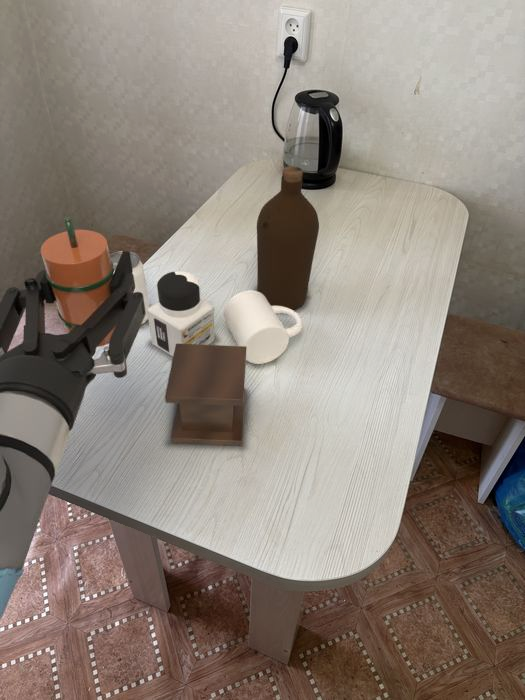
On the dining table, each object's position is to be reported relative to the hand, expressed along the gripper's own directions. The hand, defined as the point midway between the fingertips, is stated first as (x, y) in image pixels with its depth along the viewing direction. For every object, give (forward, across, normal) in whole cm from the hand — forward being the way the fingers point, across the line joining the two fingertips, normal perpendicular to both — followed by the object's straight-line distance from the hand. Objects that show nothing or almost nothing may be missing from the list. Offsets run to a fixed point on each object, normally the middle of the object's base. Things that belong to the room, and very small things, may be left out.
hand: (96, 260), depth 58 cm
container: (+15, +6, -26) cm, 31 cm away
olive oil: (+29, +23, -26) cm, 45 cm away
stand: (-1, +12, -26) cm, 29 cm away
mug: (+16, +20, -26) cm, 37 cm away
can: (+21, -4, -26) cm, 33 cm away
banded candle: (-5, 0, -6) cm, 8 cm away
